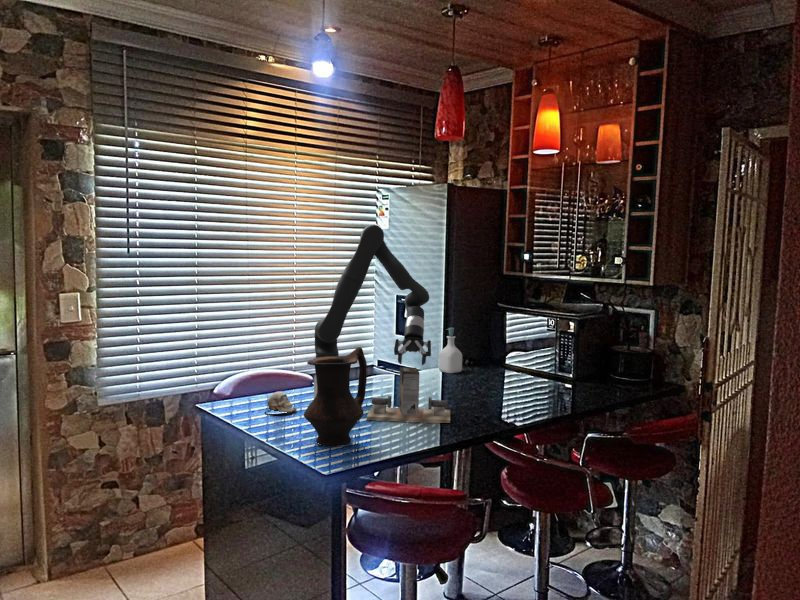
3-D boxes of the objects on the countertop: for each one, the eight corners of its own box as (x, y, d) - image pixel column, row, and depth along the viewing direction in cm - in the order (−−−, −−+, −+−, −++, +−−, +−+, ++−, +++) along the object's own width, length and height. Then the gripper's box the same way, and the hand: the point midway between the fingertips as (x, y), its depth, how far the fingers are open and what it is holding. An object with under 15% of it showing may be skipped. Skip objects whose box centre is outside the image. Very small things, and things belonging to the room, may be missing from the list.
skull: (304, 407, 236) (294, 391, 229) (291, 430, 230) (280, 414, 223) (280, 402, 241) (269, 386, 235) (266, 424, 235) (254, 408, 229)
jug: (321, 456, 183) (322, 356, 180) (293, 440, 198) (294, 347, 195) (380, 444, 195) (382, 350, 193) (350, 430, 210) (351, 342, 208)
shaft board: (366, 420, 223) (366, 399, 222) (371, 410, 237) (371, 390, 236) (450, 424, 220) (450, 402, 220) (450, 413, 234) (450, 393, 233)
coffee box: (398, 409, 233) (399, 367, 231) (415, 409, 233) (416, 367, 232) (401, 415, 224) (402, 371, 222) (418, 415, 224) (419, 371, 223)
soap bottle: (450, 369, 324) (451, 326, 322) (463, 372, 316) (464, 328, 315) (436, 371, 318) (438, 327, 316) (450, 374, 310) (451, 329, 309)
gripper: (396, 323, 243) (392, 357, 233) (432, 324, 242) (430, 358, 231) (397, 335, 249) (393, 368, 238) (432, 336, 248) (430, 369, 237)
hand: (411, 363), depth 235 cm, fingers open, 8 cm apart
